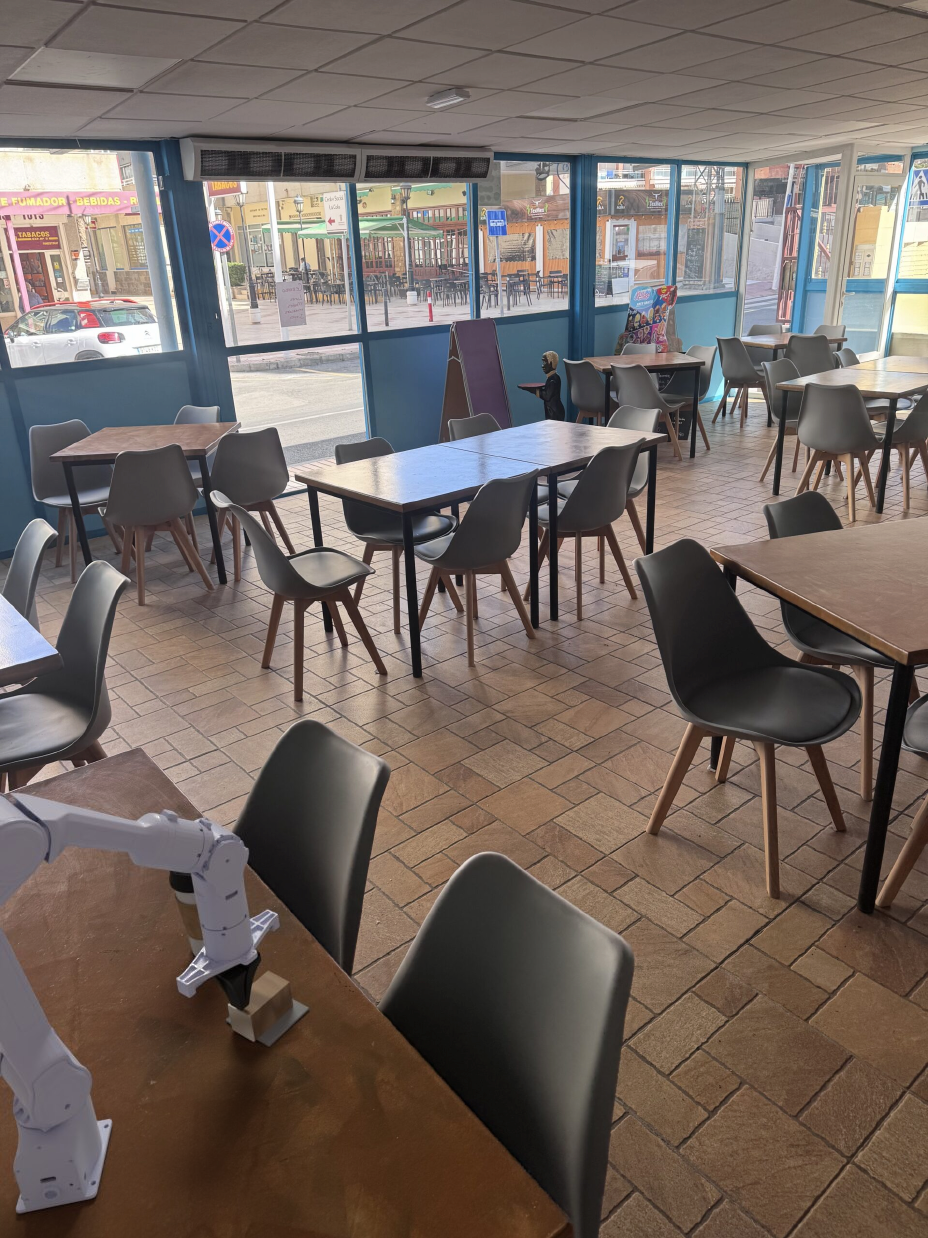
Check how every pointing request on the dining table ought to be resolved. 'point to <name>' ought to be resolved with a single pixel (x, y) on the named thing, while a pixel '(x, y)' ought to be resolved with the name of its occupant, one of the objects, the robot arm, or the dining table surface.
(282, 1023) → the slate mat
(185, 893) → the coffee cup
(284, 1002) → the walnut block
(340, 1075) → the dining table surface
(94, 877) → the dining table surface
